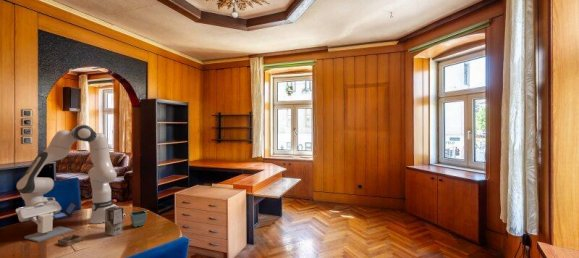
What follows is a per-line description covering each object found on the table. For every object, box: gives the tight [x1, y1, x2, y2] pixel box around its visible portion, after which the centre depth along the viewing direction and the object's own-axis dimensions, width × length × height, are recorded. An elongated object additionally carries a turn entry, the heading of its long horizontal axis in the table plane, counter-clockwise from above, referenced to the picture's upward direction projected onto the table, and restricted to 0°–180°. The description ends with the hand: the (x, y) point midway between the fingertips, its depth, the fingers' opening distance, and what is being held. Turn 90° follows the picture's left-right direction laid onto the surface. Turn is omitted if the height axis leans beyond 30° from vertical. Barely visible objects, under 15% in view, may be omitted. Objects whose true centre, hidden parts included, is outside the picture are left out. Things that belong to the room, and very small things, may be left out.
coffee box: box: [104, 206, 124, 237], centre depth 166 cm, size 9×6×16 cm
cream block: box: [37, 213, 54, 233], centre depth 160 cm, size 5×5×10 cm
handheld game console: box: [53, 200, 79, 221], centre depth 195 cm, size 16×13×9 cm
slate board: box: [24, 225, 74, 243], centre depth 162 cm, size 18×14×1 cm
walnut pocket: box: [57, 233, 84, 247], centre depth 152 cm, size 8×8×2 cm
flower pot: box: [129, 209, 148, 228], centre depth 179 cm, size 9×9×9 cm
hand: (45, 221), depth 160 cm, fingers closed on cream block, 5 cm apart
